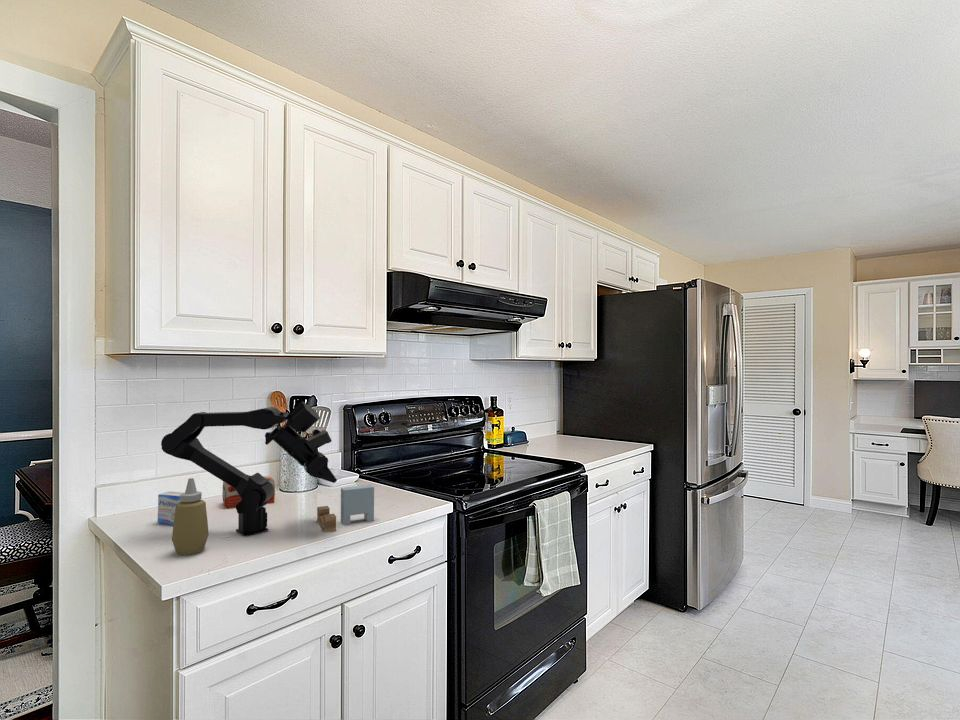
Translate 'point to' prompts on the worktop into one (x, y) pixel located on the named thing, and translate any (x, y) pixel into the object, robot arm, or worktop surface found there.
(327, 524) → the tan stepped bar
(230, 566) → the worktop surface
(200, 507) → the squeeze bottle
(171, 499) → the medicine box
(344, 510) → the grey slotted plate
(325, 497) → the worktop surface
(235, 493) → the medicine box
